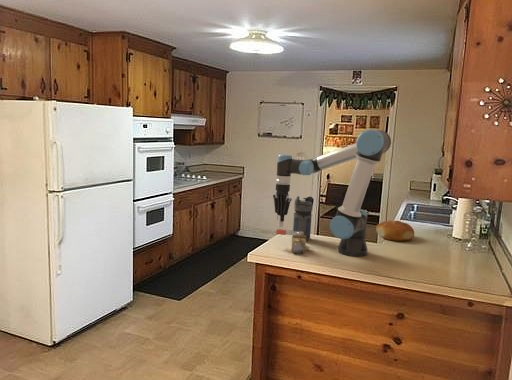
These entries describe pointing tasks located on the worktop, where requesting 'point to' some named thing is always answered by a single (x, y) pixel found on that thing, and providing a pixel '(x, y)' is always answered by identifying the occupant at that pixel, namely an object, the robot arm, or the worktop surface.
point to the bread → (395, 231)
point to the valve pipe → (298, 244)
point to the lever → (289, 232)
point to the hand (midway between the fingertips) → (280, 226)
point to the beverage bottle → (303, 215)
